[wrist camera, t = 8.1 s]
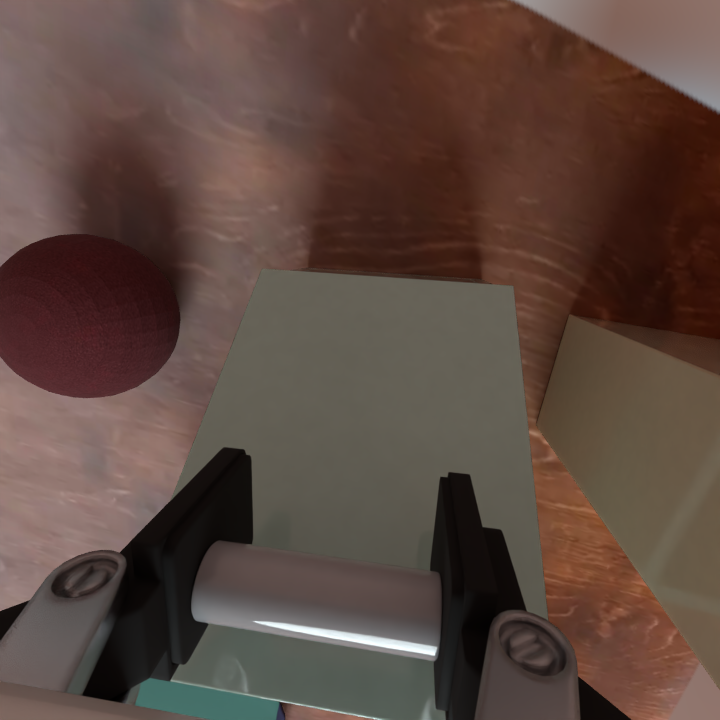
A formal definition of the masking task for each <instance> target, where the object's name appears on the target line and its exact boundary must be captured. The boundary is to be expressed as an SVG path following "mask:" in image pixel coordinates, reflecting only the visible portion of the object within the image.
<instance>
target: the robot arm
mask: <svg viewBox="0 0 720 720" xmlns="http://www.w3.org/2000/svg"><path fill="white" fill-rule="evenodd" d="M218 540H225V541H231V542H238V543H245V544H252V542H253V500H252V460H251V456H250V455H246V452H245V450H244V449H237V448H228V447H223V448H222V449H221V450H220V451H219V452H218V453H217V454H216V455H215V456H214V457H213V458H212V459H211V460H210V461H209V462H208V463H207V464H206V465H205V466H204V467H203V468H202V469H201V470H200V471H199V472H198V473H197V474H196V475H195V476H194V477H193V478H192V479H191V480H190V481H189V482H188V484H187V485H186V486H185V487H184V488H183V489H182V490H181V491H180V492H179V493H178V494H177V495H176V496H175V497H174V498H173V499H172V500H171V501H170V502H169V503H168V504H167V505H166V506H165V507H164V508H163V509H162V510H161V511H160V512H159V513H158V514H157V515H156V516H155V517H154V518H153V519H152V520H151V521H150V522H149V523H148V524H147V525H146V526H145V527H144V528H143V529H142V530H141V531H140V532H139V533H138V534H137V535H136V536H135V537H134V538H133V539H132V540H131V541H130V543H129V544H128V545H127V546H126V547H125V548H124V549H123V550H122V551H121V552H120V553H119V552H115V551H112V550H98V551H92V552H88V553H85V554H82V555H79V556H76V557H74V558H72V559H70V560H68V561H66V562H64V563H63V564H62V565H60V566H59V567H57V568H56V569H55V570H53V572H52V573H51V574H50V575H49V576H48V577H47V578H46V579H45V580H44V582H43V583H42V585H41V586H40V587H39V589H38V590H37V591H36V593H35V594H34V596H33V597H32V598H31V600H29V601H26V602H24V603H21V604H18V605H16V606H13V607H10V608H8V609H5V610H2V611H0V720H209V719H204V718H199V717H193V716H188V715H183V714H178V713H172V712H167V711H162V710H157V709H151V708H146V707H141V706H135V703H136V700H137V697H138V694H139V690H140V685H141V683H142V682H144V681H145V680H147V679H149V678H152V679H158V680H163V681H169V682H170V680H171V678H172V677H173V675H174V673H175V672H176V670H177V668H178V666H179V665H180V664H181V665H184V664H186V663H187V662H188V661H189V659H190V657H191V656H192V654H193V652H194V650H195V648H196V647H197V645H198V643H199V641H200V639H201V638H202V636H203V634H204V632H205V630H206V629H207V627H208V625H209V624H208V623H202V622H197V621H196V620H195V619H194V618H193V616H192V612H191V597H192V591H193V586H194V582H195V578H196V575H197V572H198V569H199V566H200V564H201V562H202V559H203V557H204V555H205V554H206V552H207V550H208V549H209V547H210V546H211V545H212V544H213V543H214V542H216V541H218ZM430 570H432V571H437V572H439V573H440V576H441V581H442V599H443V611H442V634H441V645H440V651H439V656H438V659H437V661H434V686H435V706H436V709H437V710H442V711H445V716H446V720H631V719H630V718H629V717H627V716H626V715H625V714H624V713H622V712H621V711H620V710H619V709H618V708H616V707H615V706H614V705H613V704H611V703H610V702H609V701H608V700H606V699H605V698H604V697H603V696H602V695H600V694H599V693H598V692H597V691H595V690H594V689H593V688H592V687H591V686H589V685H588V684H587V683H586V682H584V681H583V680H582V679H581V678H579V677H578V671H577V660H576V656H575V652H574V649H573V647H572V646H571V644H570V642H569V640H568V639H567V637H566V636H565V635H564V634H563V633H562V632H561V631H560V630H559V629H558V628H557V627H556V626H555V625H553V624H552V623H550V622H549V621H548V620H546V619H545V618H543V617H540V616H538V615H536V614H534V613H531V612H527V610H526V606H525V603H524V600H523V597H522V593H521V590H520V587H519V584H518V580H517V577H516V574H515V570H514V567H513V564H512V561H511V557H510V554H509V551H508V548H507V544H506V541H505V538H504V535H503V532H502V530H500V529H495V528H487V527H483V526H482V522H481V518H480V514H479V510H478V506H477V501H476V497H475V493H474V489H473V485H472V481H471V476H470V474H463V473H454V472H449V473H448V476H447V477H440V481H439V490H438V498H437V507H436V516H435V525H434V534H433V543H432V552H431V561H430Z"/></svg>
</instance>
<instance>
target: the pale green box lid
mask: <svg viewBox="0 0 720 720" xmlns="http://www.w3.org/2000/svg"><path fill="white" fill-rule="evenodd" d="M223 447H228V448H237V449H244V450H245V452H246V455H250V456H251V460H252V500H253V542H252V544H245V543H238V542H231V541H225V540H218V541H216V542H214V543H213V544H212V545H211V546H210V547H209V549H208V550H207V552H206V554H205V555H204V557H203V559H202V562H201V564H200V566H199V569H198V572H197V575H196V578H195V582H194V586H193V591H192V597H191V612H192V616H193V618H194V619H195V620H196V621H197V622H202V623H208V624H209V625H208V627H207V629H206V630H205V632H204V634H203V636H202V638H201V639H200V641H199V643H198V645H197V647H196V648H195V650H194V652H193V654H192V656H191V657H190V659H189V661H188V662H187V663H186V664H184V665H181V664H180V665H179V666H178V668H177V670H176V672H175V673H174V675H173V677H172V678H171V680H170V681H171V682H176V683H182V684H187V685H193V686H198V687H203V688H209V689H214V690H219V691H225V692H230V693H235V694H241V695H246V696H251V697H257V698H262V699H268V700H273V701H278V702H284V703H289V704H294V705H300V706H305V707H310V708H316V709H321V710H326V711H332V712H337V713H342V714H348V715H353V716H359V717H364V718H369V719H375V720H446V716H445V711H442V710H437V709H436V706H435V686H434V661H437V659H438V656H439V651H440V645H441V634H442V611H443V599H442V581H441V576H440V573H439V572H437V571H432V570H430V561H431V552H432V543H433V534H434V525H435V516H436V507H437V498H438V490H439V481H440V477H447V476H448V473H449V472H454V473H463V474H470V476H471V481H472V485H473V489H474V493H475V497H476V501H477V506H478V510H479V514H480V518H481V522H482V526H483V527H487V528H495V529H500V530H502V532H503V535H504V538H505V541H506V544H507V548H508V551H509V554H510V557H511V561H512V564H513V567H514V570H515V574H516V577H517V580H518V584H519V587H520V590H521V593H522V597H523V600H524V603H525V606H526V610H527V612H531V613H534V614H536V615H538V616H540V617H543V618H545V619H546V620H548V610H547V601H546V591H545V582H544V572H543V563H542V553H541V544H540V534H539V525H538V515H537V505H536V496H535V486H534V477H533V467H532V458H531V448H530V439H529V429H528V420H527V410H526V401H525V391H524V382H523V372H522V363H521V353H520V343H519V334H518V324H517V315H516V305H515V296H514V287H513V286H510V285H495V284H481V283H466V282H452V281H437V280H422V279H408V278H393V277H379V276H364V275H349V274H335V273H320V272H306V271H291V270H276V269H262V270H261V272H260V275H259V277H258V280H257V282H256V285H255V287H254V290H253V293H252V295H251V298H250V300H249V303H248V305H247V308H246V310H245V313H244V315H243V318H242V320H241V323H240V326H239V328H238V331H237V333H236V336H235V338H234V341H233V343H232V346H231V348H230V351H229V353H228V356H227V359H226V361H225V364H224V366H223V369H222V371H221V374H220V376H219V379H218V381H217V384H216V387H215V389H214V392H213V394H212V397H211V399H210V402H209V404H208V407H207V409H206V412H205V414H204V417H203V420H202V422H201V425H200V427H199V430H198V432H197V435H196V437H195V440H194V442H193V445H192V448H191V450H190V453H189V455H188V458H187V460H186V463H185V465H184V468H183V470H182V473H181V475H180V478H179V481H178V483H177V486H176V488H175V491H174V493H173V496H172V498H171V500H172V499H173V498H174V497H175V496H176V495H177V494H178V493H179V492H180V491H181V490H182V489H183V488H184V487H185V486H186V485H187V484H188V482H189V481H190V480H191V479H192V478H193V477H194V476H195V475H196V474H197V473H198V472H199V471H200V470H201V469H202V468H203V467H204V466H205V465H206V464H207V463H208V462H209V461H210V460H211V459H212V458H213V457H214V456H215V455H216V454H217V453H218V452H219V451H220V450H221V449H222V448H223ZM548 621H549V620H548Z"/></svg>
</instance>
